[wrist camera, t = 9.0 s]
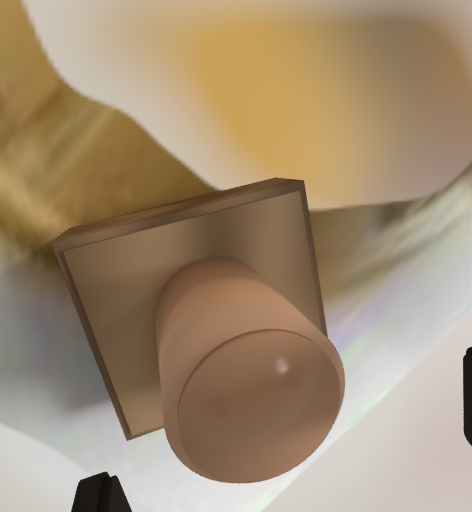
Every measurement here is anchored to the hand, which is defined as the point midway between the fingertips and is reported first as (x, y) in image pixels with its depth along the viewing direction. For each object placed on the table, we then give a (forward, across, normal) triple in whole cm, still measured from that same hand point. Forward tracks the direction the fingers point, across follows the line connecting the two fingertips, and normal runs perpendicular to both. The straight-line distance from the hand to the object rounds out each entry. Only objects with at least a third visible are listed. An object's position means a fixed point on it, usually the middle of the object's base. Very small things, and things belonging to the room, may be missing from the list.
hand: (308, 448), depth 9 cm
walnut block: (+14, +1, 0) cm, 14 cm away
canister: (+9, +1, 0) cm, 9 cm away
